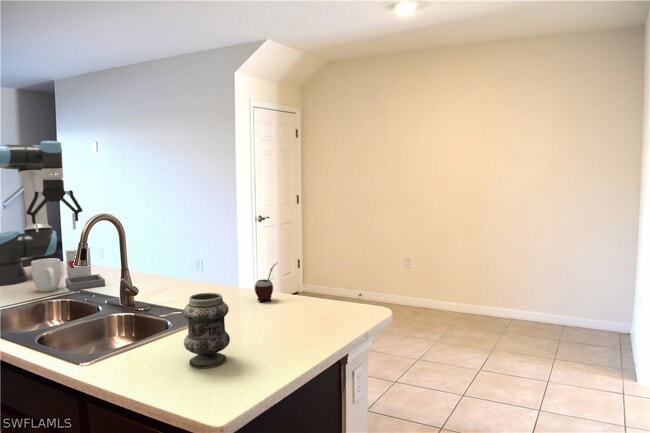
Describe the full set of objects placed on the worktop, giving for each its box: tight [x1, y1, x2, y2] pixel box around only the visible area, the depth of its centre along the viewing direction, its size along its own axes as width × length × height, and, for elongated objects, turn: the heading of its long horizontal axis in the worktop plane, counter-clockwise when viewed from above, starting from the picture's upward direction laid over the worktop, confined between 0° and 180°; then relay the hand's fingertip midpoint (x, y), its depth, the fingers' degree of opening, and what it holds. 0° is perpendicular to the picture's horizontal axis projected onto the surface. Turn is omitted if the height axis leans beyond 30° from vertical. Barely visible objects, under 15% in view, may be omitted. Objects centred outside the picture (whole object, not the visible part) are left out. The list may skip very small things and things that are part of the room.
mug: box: [30, 257, 62, 293], centre depth 208 cm, size 15×11×13 cm
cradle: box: [64, 273, 106, 292], centre depth 218 cm, size 14×14×3 cm
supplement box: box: [65, 246, 92, 278], centre depth 230 cm, size 9×9×15 cm
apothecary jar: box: [182, 292, 231, 369], centre depth 130 cm, size 12×12×18 cm
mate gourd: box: [254, 261, 278, 304], centre depth 189 cm, size 8×8×15 cm
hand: (56, 230), depth 201 cm, fingers open, 13 cm apart
